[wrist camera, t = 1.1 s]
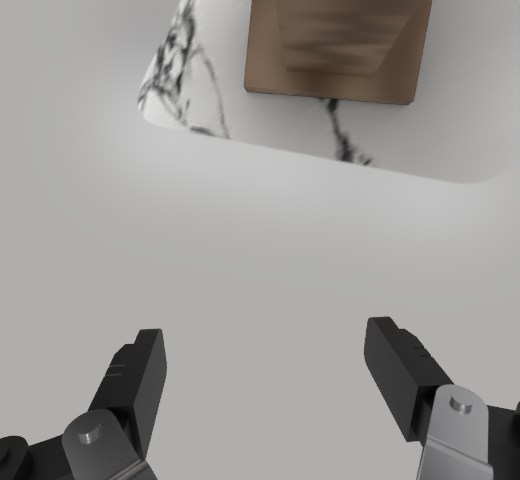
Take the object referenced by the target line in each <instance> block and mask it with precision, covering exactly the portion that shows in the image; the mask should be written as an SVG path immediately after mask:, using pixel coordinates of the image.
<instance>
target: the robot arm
mask: <svg viewBox="0 0 520 480" xmlns="http://www.w3.org/2000/svg"><path fill="white" fill-rule="evenodd" d="M364 356H365V362H366V365H367V367H368V369H369V371H370V372H371V375H372V377H373V378H374V380H375V382H376V384H377V386H378V388H379V390H380V392H381V394H382V396H383V398H384V399H385V401H386V403H387V405H388V407H389V409H390V411H391V413H392V415H393V417H394V419H395V420H396V422H397V424H398V426H399V428H400V430H401V432H402V434H403V436H404V438H405V440H406V442H412V441H420V443H421V445H422V447H423V449H422V454H421V459H420V463H419V468H418V473H417V478H416V480H520V402H519V403H518V405H517V408H516V411H514V410H509V409H504V408H499V407H494V406H489V405H486V404H485V402H484V401H483V400H482V399H481V398H480V397H479V396H478V395H477V394H475V393H474V392H472V391H470V390H469V389H466V388H464V387H461V386H458V385H455V384H454V383H453V382H452V381H451V380H450V378H449V377H448V376H447V374H446V373H445V372H444V371H443V369H442V368H441V367H440V366H439V364H438V363H437V362H436V361H435V359H434V358H433V357H431V354H430V353H429V352H428V351H427V350H426V349H425V348H424V346H423V345H422V343H421V342H420V341H419V340H418V338H417V337H416V336H414V335H413V334H411V333H410V332H408V331H407V330H405V329H399V328H398V327H397V325H396V324H395V323H394V321H393V320H392V319H391V318H390V317H371V318H369V319H368V322H367V329H366V338H365V346H364ZM166 371H167V362H166V354H165V347H164V340H163V334H162V330H161V329H143V330H140V331H139V333H138V335H137V338H136V340H135V342H134V344H125V345H124V346H123V347H122V348H121V349H120V350H119V351H118V352H117V353H116V354H115V355H114V357H113V359H112V361H111V363H110V367H109V368H108V369H107V372H106V374H105V377H104V378H103V380H102V382H101V384H100V386H99V388H98V391H97V392H96V394H95V397H94V399H93V401H92V403H91V405H90V407H89V409H88V411H87V412H86V413H83V414H82V415H80V416H78V417H77V418H76V419H74V420H73V421H72V422H71V423H70V424H69V425H68V426H67V428H66V429H65V431H64V433H63V434H62V435H60V436H57V437H54V438H52V439H49V440H46V441H43V442H40V443H37V444H34V445H31V446H28V443H27V441H26V440H25V439H24V438H23V437H20V436H8V437H4V438H1V439H0V480H157V478H156V476H155V474H154V473H153V471H152V469H151V467H150V466H149V464H148V463H147V461H146V460H145V459H146V455H147V451H148V447H149V442H150V439H151V435H152V431H153V427H154V423H155V418H156V415H157V411H158V407H159V403H160V399H161V395H162V391H163V387H164V383H165V378H166Z"/></svg>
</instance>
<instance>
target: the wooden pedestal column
mask: <svg viewBox="0 0 520 480" xmlns="http://www.w3.org/2000/svg"><path fill="white" fill-rule="evenodd" d="M431 4H432V0H252V6H251V16H250V27H249V37H248V47H247V57H246V67H245V78H244V88H245V89H246V91H249V92H261V93H273V94H285V95H296V96H308V97H320V98H332V99H344V100H355V101H367V102H379V103H391V104H402V105H409V104H410V103H411V102H413V101H414V96H415V91H416V86H417V80H418V75H419V69H420V64H421V58H422V53H423V47H424V42H425V37H426V31H427V26H428V20H429V15H430V9H431Z"/></svg>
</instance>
